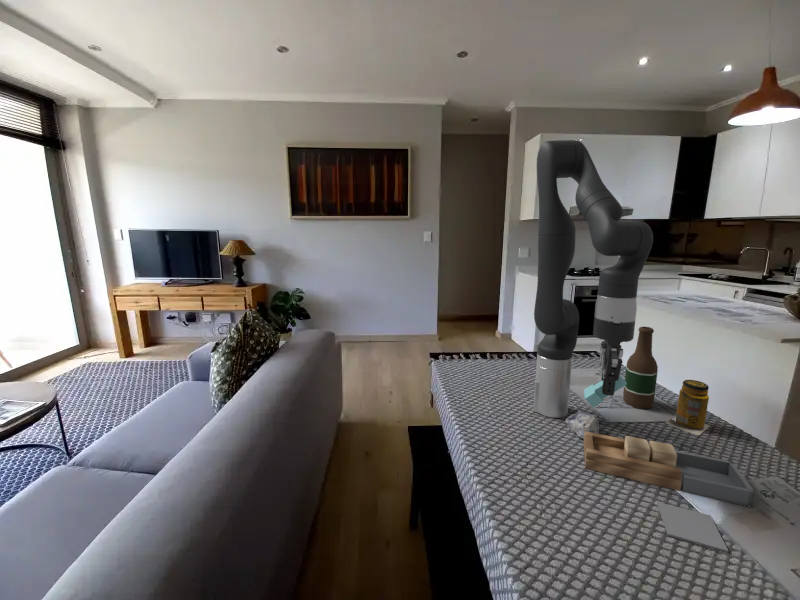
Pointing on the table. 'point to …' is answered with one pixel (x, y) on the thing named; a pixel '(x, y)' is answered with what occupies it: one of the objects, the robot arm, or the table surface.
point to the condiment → (692, 407)
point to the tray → (714, 479)
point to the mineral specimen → (583, 423)
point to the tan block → (662, 453)
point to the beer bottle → (641, 373)
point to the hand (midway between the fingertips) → (607, 391)
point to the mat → (691, 526)
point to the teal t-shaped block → (600, 391)
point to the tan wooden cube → (636, 448)
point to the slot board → (626, 462)
